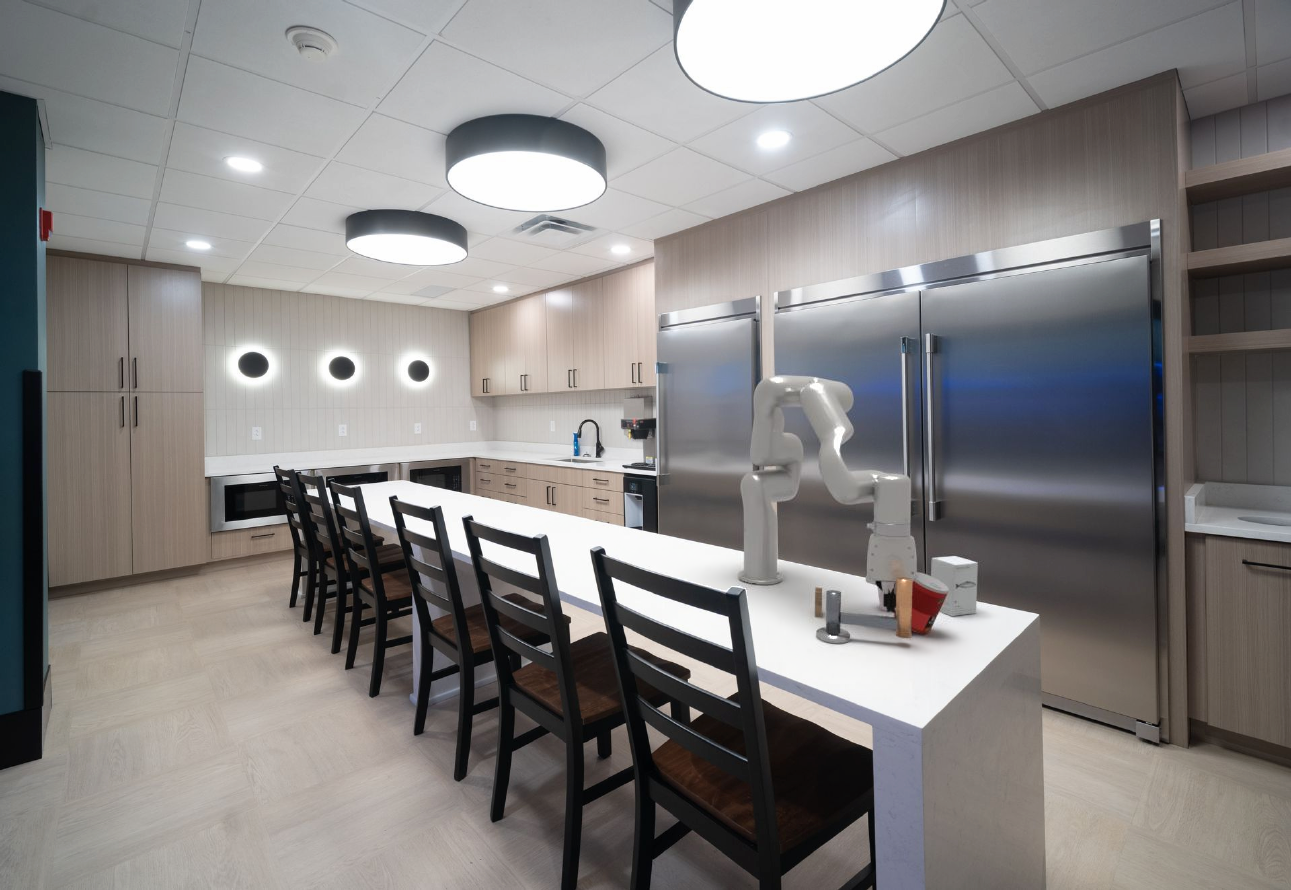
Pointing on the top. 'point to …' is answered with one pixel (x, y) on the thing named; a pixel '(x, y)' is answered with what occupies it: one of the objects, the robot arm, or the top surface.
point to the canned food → (926, 602)
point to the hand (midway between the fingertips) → (890, 610)
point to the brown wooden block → (818, 602)
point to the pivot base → (833, 636)
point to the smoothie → (880, 593)
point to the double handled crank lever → (899, 622)
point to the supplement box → (957, 584)
